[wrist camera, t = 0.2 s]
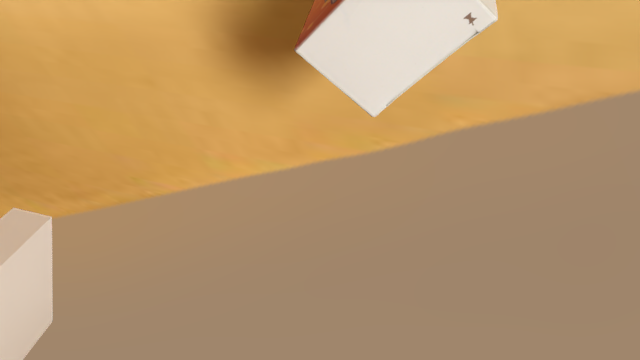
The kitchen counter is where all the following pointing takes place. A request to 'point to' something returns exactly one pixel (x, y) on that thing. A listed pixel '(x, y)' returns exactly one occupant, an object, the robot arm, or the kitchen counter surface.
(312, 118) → the kitchen counter surface
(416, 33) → the small box
